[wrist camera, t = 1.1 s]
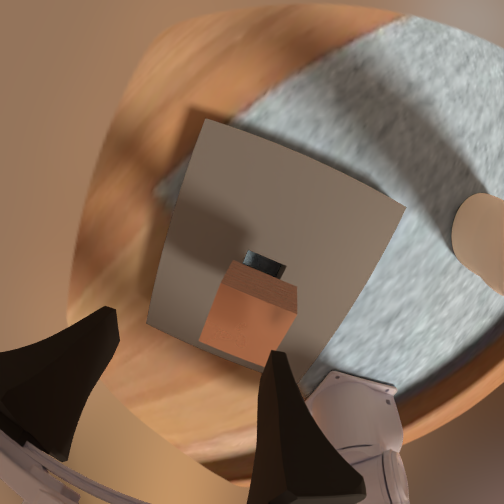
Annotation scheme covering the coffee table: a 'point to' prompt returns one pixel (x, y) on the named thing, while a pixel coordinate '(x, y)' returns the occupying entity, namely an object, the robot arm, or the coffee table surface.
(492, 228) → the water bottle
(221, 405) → the coffee table surface
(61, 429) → the robot arm
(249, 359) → the orange rectangular block
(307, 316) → the base
